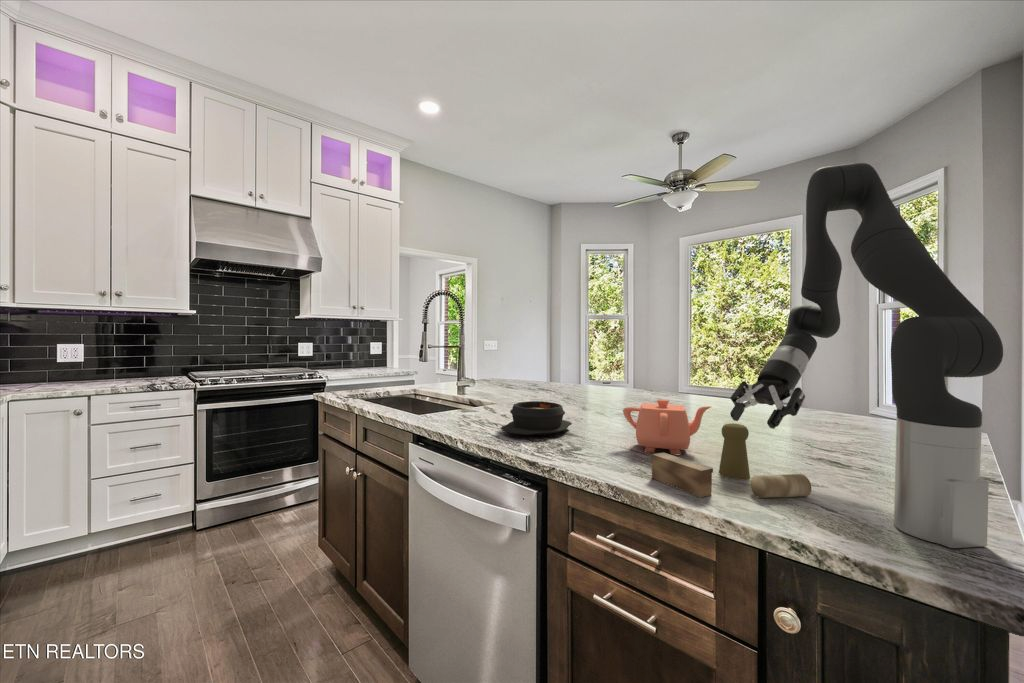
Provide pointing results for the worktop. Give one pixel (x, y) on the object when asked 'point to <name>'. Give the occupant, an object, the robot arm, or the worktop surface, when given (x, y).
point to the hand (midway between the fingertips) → (751, 422)
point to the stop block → (682, 474)
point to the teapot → (664, 425)
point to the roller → (780, 485)
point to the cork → (734, 452)
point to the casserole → (536, 418)
